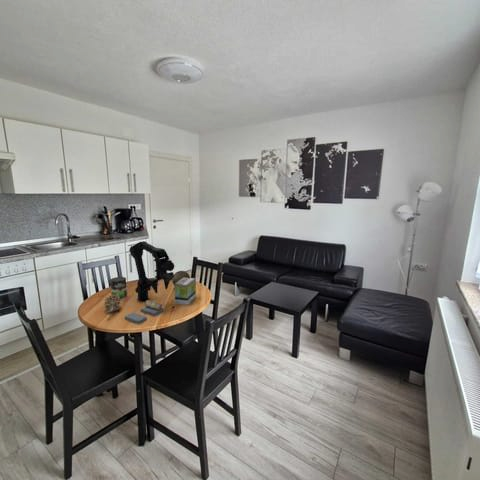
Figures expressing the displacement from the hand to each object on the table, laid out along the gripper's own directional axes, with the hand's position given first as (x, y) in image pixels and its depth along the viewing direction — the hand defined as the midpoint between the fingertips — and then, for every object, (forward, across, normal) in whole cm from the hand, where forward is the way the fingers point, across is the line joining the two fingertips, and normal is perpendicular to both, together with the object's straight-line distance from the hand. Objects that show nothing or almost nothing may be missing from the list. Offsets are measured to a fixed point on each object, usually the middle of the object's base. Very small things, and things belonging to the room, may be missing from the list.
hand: (161, 291), depth 168 cm
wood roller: (+7, -7, 0) cm, 10 cm away
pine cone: (+11, -22, +20) cm, 32 cm away
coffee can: (+11, -5, +38) cm, 40 cm away
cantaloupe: (+11, +31, +10) cm, 34 cm away
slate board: (+11, -14, 0) cm, 18 cm away
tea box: (+11, +16, -7) cm, 21 cm away
